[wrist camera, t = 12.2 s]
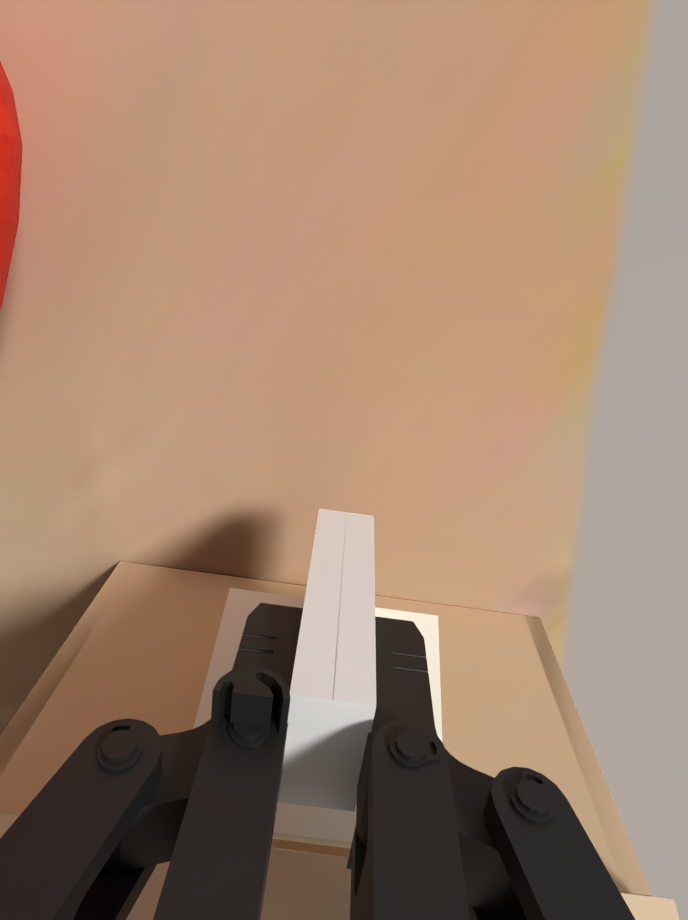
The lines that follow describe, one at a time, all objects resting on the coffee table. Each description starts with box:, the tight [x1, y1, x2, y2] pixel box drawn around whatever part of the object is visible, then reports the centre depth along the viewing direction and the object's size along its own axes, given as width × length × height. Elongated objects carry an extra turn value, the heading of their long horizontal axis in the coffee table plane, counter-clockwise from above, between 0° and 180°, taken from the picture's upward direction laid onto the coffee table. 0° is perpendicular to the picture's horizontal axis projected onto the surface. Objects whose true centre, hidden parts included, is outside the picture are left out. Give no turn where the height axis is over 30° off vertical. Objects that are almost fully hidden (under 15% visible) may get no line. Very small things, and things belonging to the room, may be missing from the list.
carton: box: [0, 561, 651, 897], centre depth 21 cm, size 16×16×10 cm
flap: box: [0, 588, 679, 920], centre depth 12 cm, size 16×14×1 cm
